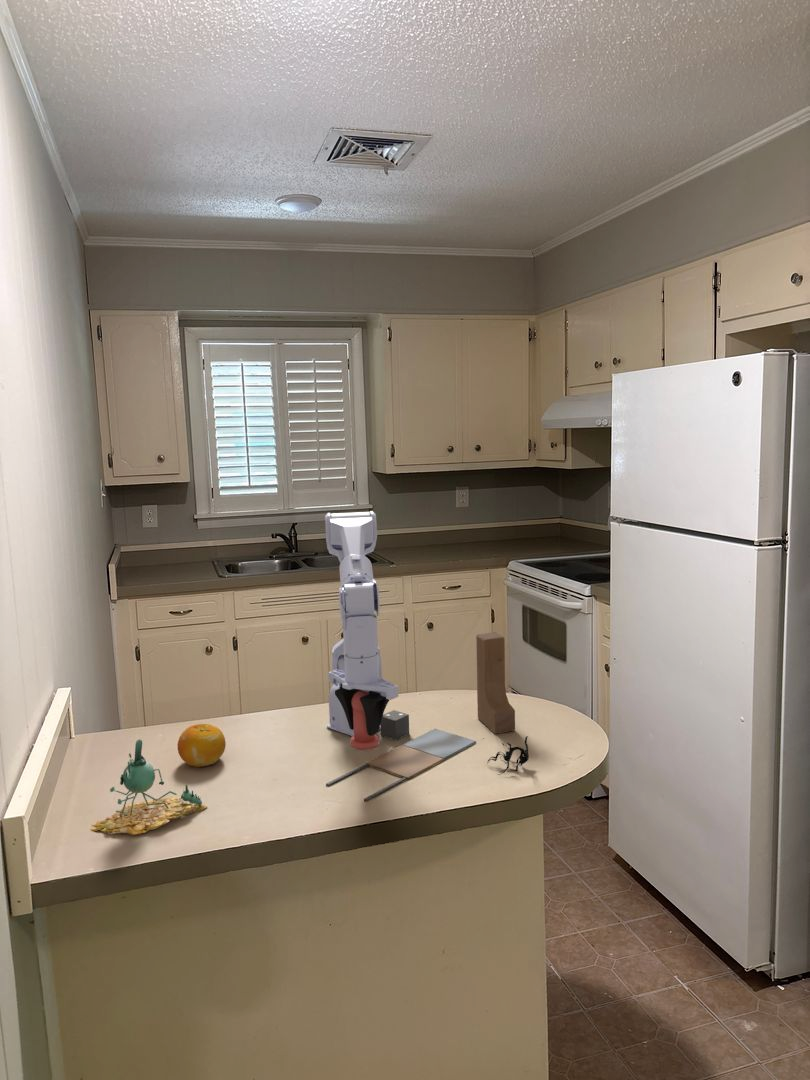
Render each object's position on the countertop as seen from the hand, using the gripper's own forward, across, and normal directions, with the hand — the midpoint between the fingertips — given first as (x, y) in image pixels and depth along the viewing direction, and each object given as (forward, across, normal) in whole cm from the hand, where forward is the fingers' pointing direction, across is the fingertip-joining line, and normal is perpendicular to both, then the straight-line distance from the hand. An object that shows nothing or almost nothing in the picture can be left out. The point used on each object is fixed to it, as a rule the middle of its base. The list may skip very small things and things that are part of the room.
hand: (364, 730), depth 135 cm
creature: (+10, +16, +20) cm, 27 cm away
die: (+9, -10, +18) cm, 23 cm away
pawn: (+2, 0, 0) cm, 2 cm away
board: (+9, 0, +10) cm, 14 cm away
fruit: (+10, -30, -12) cm, 34 cm away
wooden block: (+10, +3, +34) cm, 36 cm away
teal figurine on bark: (+10, -18, -31) cm, 37 cm away
